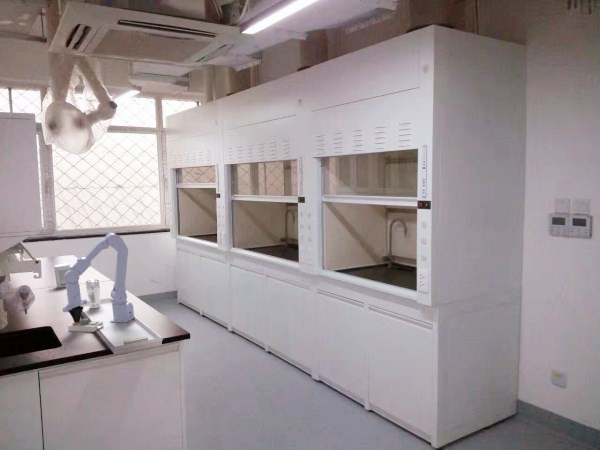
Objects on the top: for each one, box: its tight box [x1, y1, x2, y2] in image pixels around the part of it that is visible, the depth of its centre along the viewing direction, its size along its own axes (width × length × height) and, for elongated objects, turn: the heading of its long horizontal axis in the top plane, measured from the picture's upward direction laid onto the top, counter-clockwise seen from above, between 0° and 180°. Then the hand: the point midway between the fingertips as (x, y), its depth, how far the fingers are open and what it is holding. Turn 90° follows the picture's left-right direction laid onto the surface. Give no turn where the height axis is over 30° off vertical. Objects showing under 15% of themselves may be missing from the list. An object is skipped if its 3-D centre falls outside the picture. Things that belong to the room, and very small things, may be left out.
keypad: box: [67, 320, 104, 333], centre depth 229 cm, size 14×7×3 cm, turn 77°
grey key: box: [80, 317, 91, 325], centre depth 229 cm, size 3×3×2 cm
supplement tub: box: [53, 263, 71, 289], centre depth 323 cm, size 10×10×15 cm
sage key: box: [89, 321, 99, 325], centre depth 228 cm, size 3×3×2 cm
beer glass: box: [85, 279, 102, 309], centre depth 266 cm, size 7×7×15 cm
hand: (77, 322), depth 230 cm, fingers closed, pressing on terracotta key
